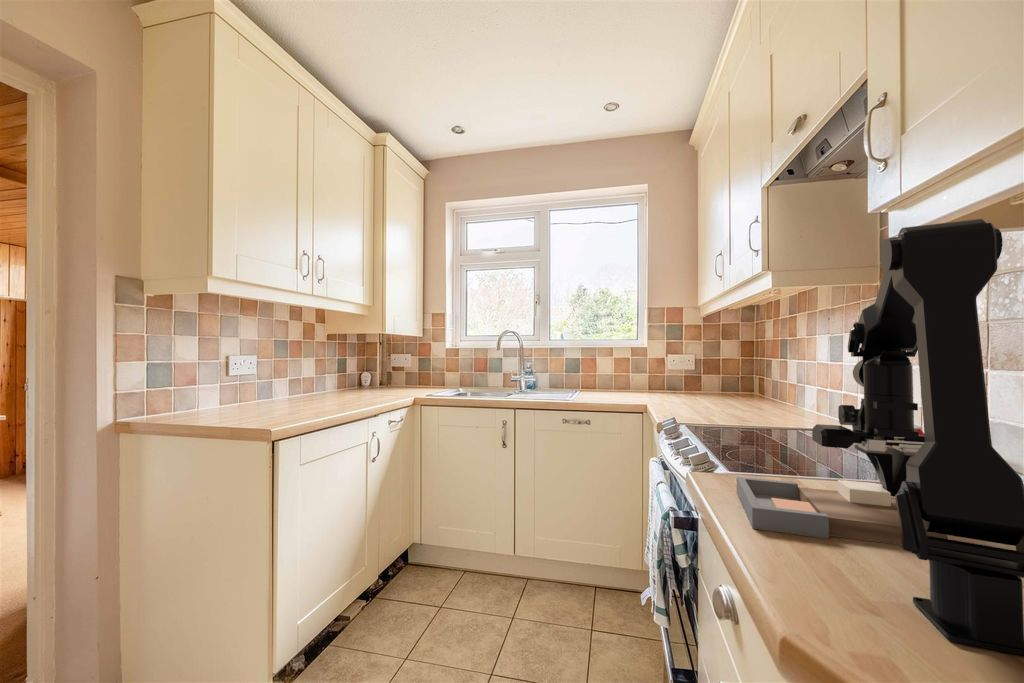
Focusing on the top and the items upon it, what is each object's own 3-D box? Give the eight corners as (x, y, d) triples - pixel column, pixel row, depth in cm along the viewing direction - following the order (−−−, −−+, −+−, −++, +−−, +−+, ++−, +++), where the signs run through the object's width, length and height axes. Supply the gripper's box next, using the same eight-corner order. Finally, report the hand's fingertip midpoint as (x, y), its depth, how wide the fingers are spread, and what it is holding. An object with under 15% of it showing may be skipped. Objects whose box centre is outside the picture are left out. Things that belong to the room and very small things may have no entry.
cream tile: (890, 506, 62) (890, 493, 62) (849, 502, 64) (849, 488, 64) (875, 495, 67) (875, 483, 67) (838, 492, 69) (837, 479, 69)
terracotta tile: (818, 527, 59) (817, 513, 59) (777, 522, 61) (776, 508, 61) (809, 515, 64) (809, 502, 64) (771, 510, 66) (771, 497, 66)
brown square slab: (947, 551, 53) (947, 531, 54) (826, 535, 58) (825, 517, 58) (894, 512, 66) (893, 496, 67) (798, 501, 71) (797, 487, 71)
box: (829, 538, 57) (828, 516, 57) (752, 528, 60) (752, 507, 60) (796, 499, 72) (796, 482, 72) (736, 493, 76) (736, 476, 76)
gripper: (936, 392, 69) (938, 487, 68) (802, 388, 76) (803, 475, 75) (981, 398, 58) (985, 511, 58) (822, 393, 65) (824, 494, 65)
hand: (890, 495), depth 64 cm, fingers closed
